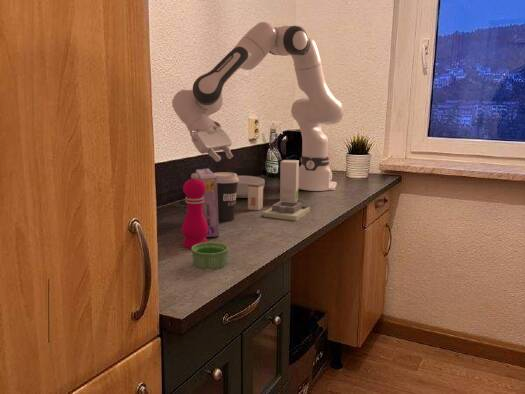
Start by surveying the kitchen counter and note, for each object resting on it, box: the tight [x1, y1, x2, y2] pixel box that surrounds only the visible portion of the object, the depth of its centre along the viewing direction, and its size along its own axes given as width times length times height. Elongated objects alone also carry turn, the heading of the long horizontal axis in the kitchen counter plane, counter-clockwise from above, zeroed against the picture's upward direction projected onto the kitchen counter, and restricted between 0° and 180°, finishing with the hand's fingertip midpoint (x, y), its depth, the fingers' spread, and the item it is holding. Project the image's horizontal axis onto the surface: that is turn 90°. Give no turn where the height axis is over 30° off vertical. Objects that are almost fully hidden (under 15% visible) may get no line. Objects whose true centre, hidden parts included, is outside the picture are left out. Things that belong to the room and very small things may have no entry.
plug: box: [247, 183, 264, 211], centre depth 175 cm, size 4×4×9 cm
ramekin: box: [190, 241, 230, 270], centre depth 119 cm, size 9×9×4 cm
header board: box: [262, 200, 311, 222], centre depth 168 cm, size 14×12×4 cm
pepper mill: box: [181, 172, 208, 249], centre depth 131 cm, size 7×7×20 cm
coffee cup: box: [213, 171, 239, 222], centre depth 159 cm, size 10×10×15 cm
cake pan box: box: [195, 168, 220, 238], centre depth 147 cm, size 19×5×18 cm, turn 13°
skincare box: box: [279, 159, 300, 202], centre depth 188 cm, size 8×7×16 cm
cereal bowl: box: [236, 175, 266, 199], centre depth 195 cm, size 17×17×7 cm
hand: (225, 159), depth 176 cm, fingers open, 8 cm apart
